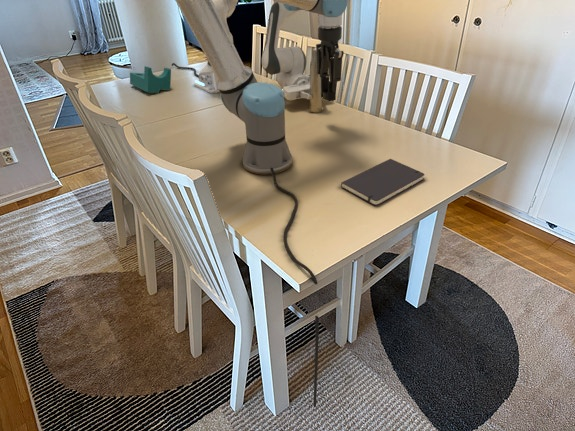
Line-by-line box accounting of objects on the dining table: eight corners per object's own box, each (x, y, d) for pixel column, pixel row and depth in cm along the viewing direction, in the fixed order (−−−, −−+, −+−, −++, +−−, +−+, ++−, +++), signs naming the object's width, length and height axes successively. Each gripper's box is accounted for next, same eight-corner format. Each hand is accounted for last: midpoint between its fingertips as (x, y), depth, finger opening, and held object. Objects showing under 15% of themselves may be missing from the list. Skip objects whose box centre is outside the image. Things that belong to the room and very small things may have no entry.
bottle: (307, 110, 161) (307, 49, 148) (315, 107, 164) (316, 47, 150) (315, 113, 158) (316, 51, 145) (323, 110, 161) (325, 49, 147)
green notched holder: (170, 93, 186) (171, 69, 181) (147, 92, 179) (148, 67, 174) (151, 84, 197) (152, 61, 192) (130, 83, 190) (130, 60, 185)
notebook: (389, 163, 124) (340, 187, 113) (390, 158, 123) (341, 182, 112) (424, 178, 116) (375, 206, 105) (425, 174, 115) (376, 201, 104)
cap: (326, 100, 139) (326, 94, 138) (320, 97, 142) (320, 90, 141) (336, 98, 141) (336, 92, 139) (330, 95, 144) (330, 88, 142)
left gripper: (277, 82, 161) (293, 92, 151) (320, 74, 169) (339, 83, 159) (277, 97, 165) (293, 108, 155) (320, 89, 172) (338, 98, 162)
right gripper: (355, 29, 123) (350, 103, 137) (326, 20, 135) (324, 89, 149) (334, 32, 120) (332, 108, 134) (306, 23, 133) (307, 93, 146)
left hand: (317, 95), depth 157 cm, fingers closed on bottle, 5 cm apart
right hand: (328, 98), depth 142 cm, fingers closed on cap, 4 cm apart
